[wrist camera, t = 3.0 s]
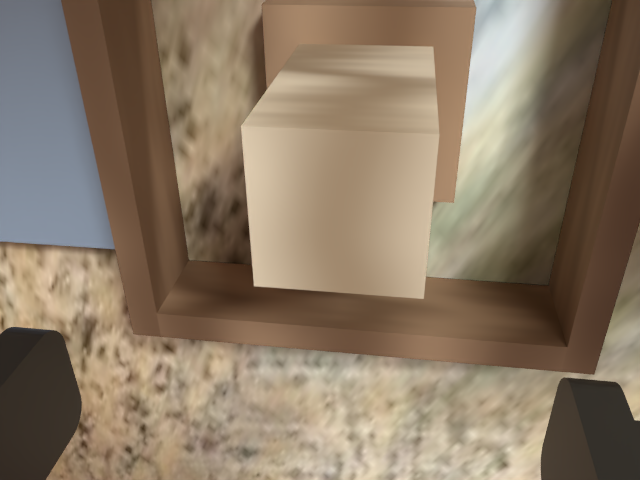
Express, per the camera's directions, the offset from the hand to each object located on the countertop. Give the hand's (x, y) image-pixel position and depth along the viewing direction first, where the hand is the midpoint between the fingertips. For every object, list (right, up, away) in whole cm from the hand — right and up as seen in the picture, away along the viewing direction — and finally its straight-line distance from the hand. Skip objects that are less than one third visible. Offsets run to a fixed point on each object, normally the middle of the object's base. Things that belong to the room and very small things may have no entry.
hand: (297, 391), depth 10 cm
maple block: (+2, +7, +12) cm, 14 cm away
